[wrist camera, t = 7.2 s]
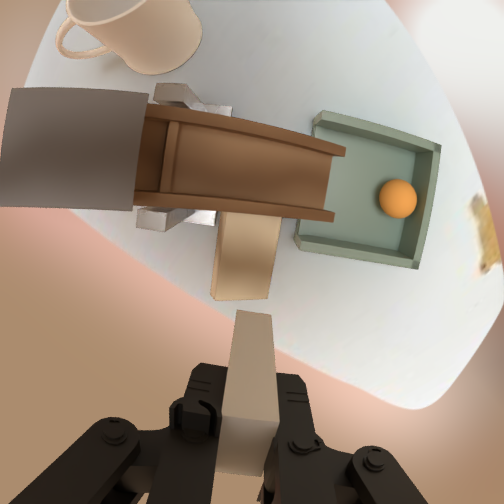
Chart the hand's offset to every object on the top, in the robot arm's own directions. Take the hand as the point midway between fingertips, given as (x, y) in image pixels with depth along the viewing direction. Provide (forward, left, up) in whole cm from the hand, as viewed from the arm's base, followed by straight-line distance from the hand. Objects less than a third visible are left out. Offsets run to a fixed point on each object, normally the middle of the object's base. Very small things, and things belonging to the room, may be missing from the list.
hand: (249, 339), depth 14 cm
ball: (-7, +12, -14) cm, 20 cm away
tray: (-7, +9, -16) cm, 20 cm away
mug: (-19, -14, -17) cm, 29 cm away
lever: (-4, -5, -9) cm, 11 cm away
